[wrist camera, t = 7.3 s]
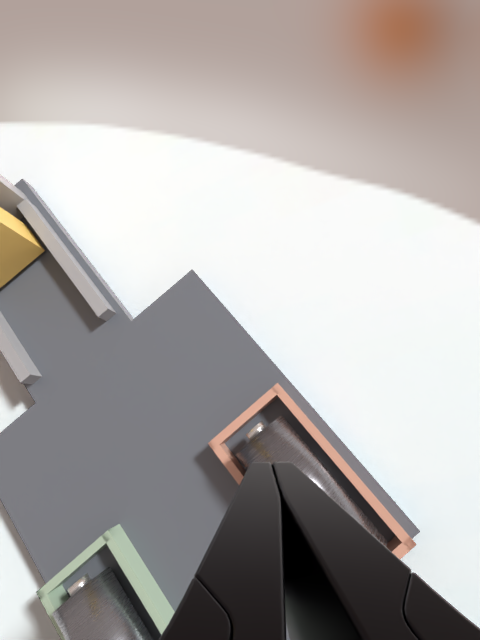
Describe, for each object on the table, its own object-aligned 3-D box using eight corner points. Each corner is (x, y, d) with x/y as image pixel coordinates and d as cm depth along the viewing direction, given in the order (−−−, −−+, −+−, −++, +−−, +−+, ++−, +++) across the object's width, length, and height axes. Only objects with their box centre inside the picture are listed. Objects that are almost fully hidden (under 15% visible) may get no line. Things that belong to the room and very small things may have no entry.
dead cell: (381, 531, 18) (392, 550, 16) (334, 572, 18) (337, 598, 16) (279, 409, 20) (273, 407, 18) (236, 446, 20) (224, 450, 18)
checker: (414, 526, 19) (457, 570, 13) (156, 756, 19) (86, 903, 13) (83, 144, 28) (23, 72, 22) (-98, 295, 28) (-206, 261, 22)
